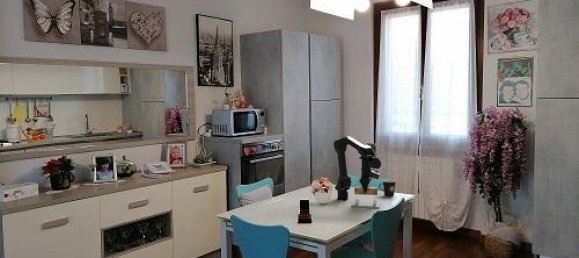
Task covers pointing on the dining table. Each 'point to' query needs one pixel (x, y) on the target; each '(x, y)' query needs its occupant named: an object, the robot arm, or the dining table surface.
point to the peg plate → (366, 204)
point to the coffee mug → (388, 187)
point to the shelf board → (370, 191)
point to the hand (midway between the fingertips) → (365, 191)
